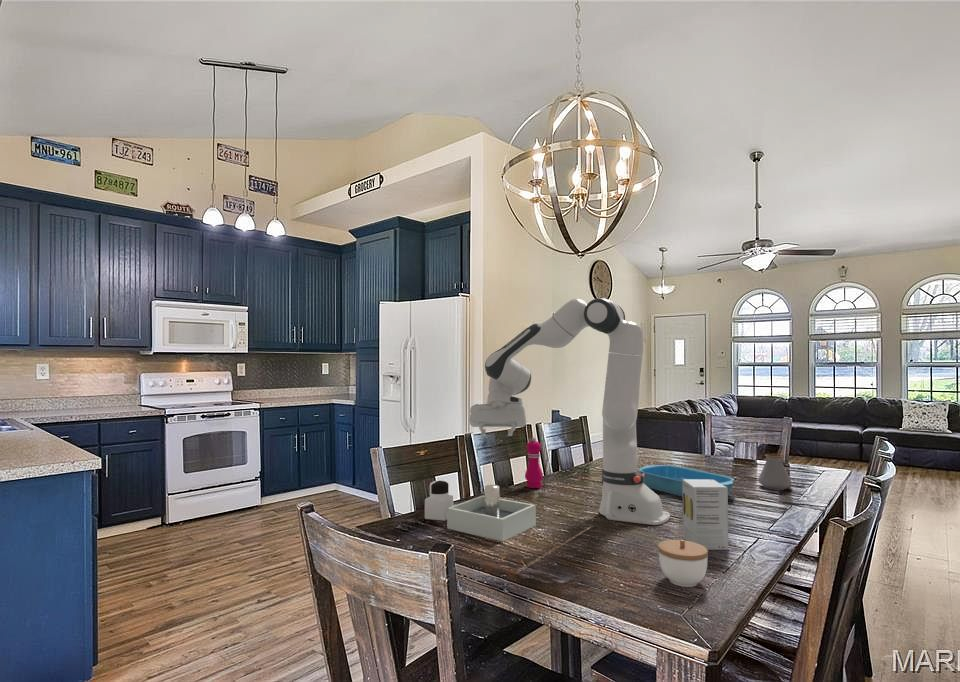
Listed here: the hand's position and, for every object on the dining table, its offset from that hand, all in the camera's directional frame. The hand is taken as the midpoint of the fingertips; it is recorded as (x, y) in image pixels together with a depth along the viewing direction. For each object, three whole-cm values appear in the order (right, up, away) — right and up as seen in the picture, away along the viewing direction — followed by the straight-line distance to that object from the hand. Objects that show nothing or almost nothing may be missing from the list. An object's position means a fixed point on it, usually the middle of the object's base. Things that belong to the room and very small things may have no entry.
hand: (496, 434), depth 185 cm
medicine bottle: (-19, -25, -14) cm, 34 cm away
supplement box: (+56, -24, -38) cm, 72 cm away
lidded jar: (+41, -23, -63) cm, 78 cm away
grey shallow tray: (-2, -23, -25) cm, 34 cm away
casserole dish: (+74, -26, +21) cm, 81 cm away
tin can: (-2, -20, -25) cm, 32 cm away
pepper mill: (+16, -26, +28) cm, 42 cm away
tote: (-2, -24, -25) cm, 35 cm away
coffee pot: (+114, -26, +28) cm, 120 cm away
